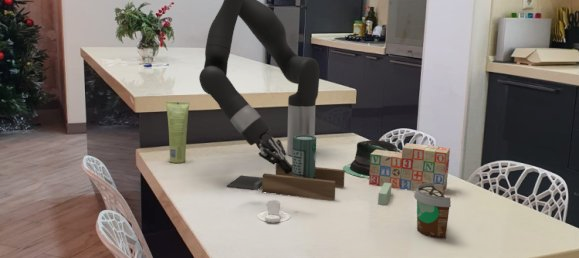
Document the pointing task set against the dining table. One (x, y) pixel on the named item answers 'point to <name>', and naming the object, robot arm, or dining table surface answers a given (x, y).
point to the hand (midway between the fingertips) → (290, 171)
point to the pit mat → (246, 183)
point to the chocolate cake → (367, 156)
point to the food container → (432, 211)
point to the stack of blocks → (410, 167)
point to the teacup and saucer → (273, 212)
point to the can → (304, 156)
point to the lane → (305, 183)
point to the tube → (177, 130)
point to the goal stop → (384, 193)
